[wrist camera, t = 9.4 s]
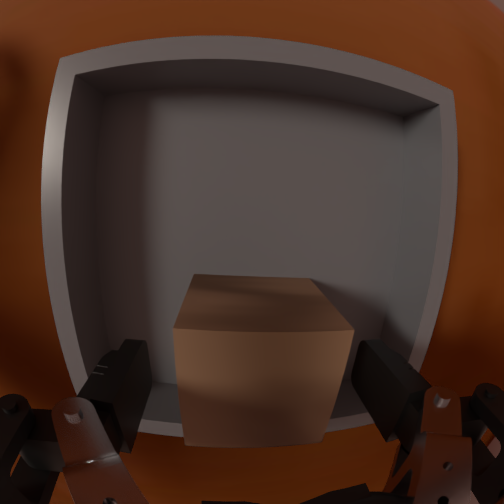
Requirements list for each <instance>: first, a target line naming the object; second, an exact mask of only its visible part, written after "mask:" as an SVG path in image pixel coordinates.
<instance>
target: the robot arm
mask: <svg viewBox="0 0 504 504" xmlns="http://www.w3.org/2000/svg"><path fill="white" fill-rule="evenodd" d="M92 372H93V373H91V375H90V376H89V378H88V379H87V381H86V382H85V384H84V385H83V387H82V388H81V390H80V392H79V393H78V395H77V396H76V397H69V398H65V399H63V400H61V401H59V402H58V403H56V404H55V406H54V407H53V409H52V410H45V409H31V407H30V405H29V403H28V401H27V399H26V398H25V397H23V396H21V395H18V394H8V395H5V396H3V397H1V398H0V504H49V502H50V499H51V496H52V493H53V490H54V487H55V484H56V481H57V478H58V476H59V473H60V472H63V474H64V477H65V480H66V483H67V485H68V488H69V490H70V493H71V495H72V498H73V500H74V502H75V504H149V503H148V501H147V500H146V498H145V497H144V495H143V494H142V493H141V491H140V490H139V488H138V486H137V485H136V483H135V482H134V480H133V479H132V477H131V475H130V474H129V472H128V470H127V469H126V467H125V465H124V464H123V462H122V460H121V458H120V457H119V452H120V451H121V452H126V453H131V451H132V448H133V445H134V441H135V438H136V435H137V432H138V428H139V425H140V422H141V419H142V416H143V413H144V410H145V407H146V403H147V400H148V397H149V394H150V391H151V388H152V372H151V366H150V360H149V353H148V346H147V342H146V341H145V340H136V339H125V340H124V342H123V343H122V345H121V346H120V348H119V350H111V351H110V352H108V353H107V354H105V355H104V356H102V358H101V359H100V361H99V362H98V364H97V366H96V367H95V368H94V370H93V371H92ZM351 382H352V386H353V388H354V390H355V391H356V393H357V394H358V396H359V398H360V399H361V401H362V403H363V404H364V406H365V408H366V409H367V411H368V413H369V414H370V416H371V418H372V419H373V421H374V423H375V424H376V426H377V428H378V429H379V431H380V433H381V434H382V436H383V438H384V439H385V441H386V442H389V441H392V440H396V439H399V440H400V443H399V445H398V446H397V449H396V453H395V457H394V460H393V464H392V467H391V470H390V474H389V477H388V480H387V483H386V485H385V487H384V489H383V491H382V492H369V490H368V487H367V485H366V483H364V484H360V485H357V486H353V487H349V488H344V489H340V490H336V491H331V492H328V493H326V494H323V495H321V496H318V497H316V498H313V499H311V500H308V501H305V502H303V503H300V504H470V495H471V491H472V492H473V494H474V495H475V497H476V498H477V500H478V502H479V503H480V504H504V392H503V391H502V390H501V389H500V388H499V387H497V386H495V385H493V384H489V383H482V384H480V385H478V386H477V387H476V389H475V391H474V393H473V395H472V396H468V397H459V396H458V394H457V393H456V392H454V391H453V390H451V389H449V388H447V387H443V386H434V387H432V386H431V385H430V384H429V383H428V382H427V381H426V380H425V379H424V378H423V377H422V376H421V375H420V374H419V373H418V372H417V371H416V370H415V369H413V366H412V365H411V364H410V363H408V361H407V360H406V359H405V358H404V357H403V356H402V355H401V354H399V353H397V352H395V351H394V350H392V349H390V348H389V347H388V346H387V345H386V344H385V343H384V342H383V341H382V340H381V339H370V340H362V341H361V342H360V343H359V346H358V350H357V354H356V358H355V362H354V365H353V369H352V373H351ZM487 428H489V429H490V430H491V432H492V433H493V434H494V435H495V436H496V438H497V439H498V440H499V441H500V444H501V451H500V453H499V455H498V456H497V457H496V458H495V457H494V456H493V455H492V454H491V452H490V451H489V450H488V448H487V447H486V446H485V444H484V443H483V442H482V441H481V437H482V436H483V434H484V433H485V431H486V430H487ZM18 454H20V455H21V457H20V459H19V461H18V463H17V465H16V467H15V469H14V471H13V473H12V475H11V477H10V472H11V468H12V466H13V464H14V462H15V460H16V458H17V456H18ZM202 504H258V503H251V502H245V501H241V502H221V501H202Z"/></svg>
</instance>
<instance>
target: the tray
mask: <svg viewBox="0 0 504 504" xmlns="http://www.w3.org/2000/svg"><path fill="white" fill-rule="evenodd" d="M457 180H458V147H457V127H456V114H455V104H454V96H453V91H452V90H450V89H448V88H446V87H444V86H441V85H439V84H437V83H435V82H433V81H430V80H428V79H426V78H423V77H421V76H419V75H416V74H414V73H411V72H408V71H406V70H403V69H400V68H398V67H395V66H392V65H389V64H386V63H383V62H380V61H377V60H373V59H370V58H367V57H363V56H360V55H356V54H352V53H348V52H344V51H340V50H336V49H331V48H327V47H322V46H317V45H311V44H306V43H300V42H293V41H286V40H278V39H269V38H258V37H243V36H183V37H169V38H158V39H149V40H141V41H134V42H128V43H122V44H116V45H111V46H106V47H101V48H97V49H92V50H88V51H84V52H80V53H77V54H73V55H70V56H66V57H63V58H60V60H59V64H58V68H57V72H56V76H55V80H54V84H53V89H52V94H51V99H50V104H49V110H48V116H47V123H46V131H45V139H44V149H43V162H42V184H41V213H42V235H43V248H44V258H45V267H46V274H47V281H48V288H49V294H50V300H51V305H52V310H53V315H54V320H55V324H56V328H57V333H58V337H59V341H60V344H61V348H62V352H63V355H64V359H65V362H66V365H67V368H68V372H69V375H70V378H71V381H72V384H73V386H74V389H75V392H76V395H78V393H79V392H80V390H81V388H82V387H83V385H84V384H85V382H86V381H87V379H88V378H89V376H90V375H91V373H93V372H92V371H93V370H94V368H95V367H96V366H97V364H98V362H99V361H100V359H101V358H102V356H104V355H105V354H107V353H108V352H110V351H111V350H119V348H120V346H121V345H122V343H123V342H124V340H125V339H136V340H145V341H146V342H147V346H148V353H149V360H150V366H151V372H152V388H151V391H150V394H149V397H148V400H147V403H146V407H145V410H144V413H143V416H142V419H141V422H140V425H139V428H138V432H145V433H152V434H159V435H168V436H178V437H184V435H183V429H182V421H181V414H180V405H179V397H178V388H177V377H176V366H175V354H174V340H173V326H174V324H175V321H176V318H177V316H178V313H179V311H180V308H181V305H182V303H183V300H184V298H185V295H186V293H187V290H188V288H189V285H190V283H191V280H192V278H193V275H194V274H209V275H232V276H257V277H288V278H309V279H310V280H311V281H312V282H313V283H314V284H315V285H316V286H317V288H318V289H319V290H320V291H321V292H322V293H323V294H324V295H325V297H326V298H327V299H328V300H329V301H330V302H331V303H332V304H333V306H334V307H335V308H336V309H337V310H338V311H339V312H340V314H341V315H342V316H343V317H344V318H345V319H346V320H347V322H348V323H349V324H350V325H351V326H352V327H353V329H354V330H355V331H354V335H353V339H352V344H351V348H350V352H349V356H348V360H347V363H346V367H345V371H344V374H343V378H342V382H341V385H340V388H339V392H338V395H337V398H336V401H335V405H334V408H333V411H332V414H331V417H330V420H329V423H328V426H327V429H326V431H325V432H331V431H337V430H343V429H348V428H354V427H358V426H363V425H368V424H372V423H374V421H373V419H372V418H371V416H370V414H369V413H368V411H367V409H366V408H365V406H364V404H363V403H362V401H361V399H360V398H359V396H358V394H357V393H356V391H355V390H354V388H353V386H352V382H351V373H352V369H353V365H354V362H355V358H356V354H357V350H358V346H359V343H360V342H361V341H362V340H370V339H381V340H382V341H383V342H384V343H385V344H386V345H387V346H388V347H389V348H390V349H392V350H394V351H395V352H397V353H399V354H401V355H402V356H403V357H404V358H405V359H406V360H407V361H408V363H410V364H411V365H412V366H413V369H415V370H416V371H417V372H418V373H419V371H420V369H421V366H422V363H423V360H424V357H425V355H426V352H427V349H428V346H429V343H430V339H431V336H432V333H433V330H434V326H435V323H436V319H437V315H438V312H439V308H440V304H441V300H442V295H443V291H444V286H445V282H446V277H447V272H448V266H449V260H450V254H451V248H452V241H453V233H454V224H455V214H456V201H457Z"/></svg>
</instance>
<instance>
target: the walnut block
mask: <svg viewBox="0 0 504 504" xmlns="http://www.w3.org/2000/svg"><path fill="white" fill-rule="evenodd" d="M354 331H355V330H354V329H353V327H352V326H351V325H350V324H349V323H348V322H347V320H346V319H345V318H344V317H343V316H342V315H341V314H340V312H339V311H338V310H337V309H336V308H335V307H334V306H333V304H332V303H331V302H330V301H329V300H328V299H327V298H326V297H325V295H324V294H323V293H322V292H321V291H320V290H319V289H318V288H317V286H316V285H315V284H314V283H313V282H312V281H311V280H310V279H309V278H288V277H257V276H232V275H209V274H194V275H193V278H192V280H191V283H190V285H189V288H188V290H187V293H186V295H185V298H184V300H183V303H182V305H181V308H180V311H179V313H178V316H177V318H176V321H175V324H174V326H173V340H174V354H175V366H176V377H177V388H178V397H179V405H180V414H181V421H182V429H183V435H184V442H185V445H186V446H199V447H219V448H259V447H279V446H292V445H302V444H311V443H319V442H322V440H323V437H324V434H325V431H326V429H327V426H328V423H329V420H330V417H331V414H332V411H333V408H334V405H335V401H336V398H337V395H338V392H339V388H340V385H341V382H342V378H343V374H344V371H345V367H346V363H347V360H348V356H349V352H350V348H351V344H352V339H353V335H354Z"/></svg>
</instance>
